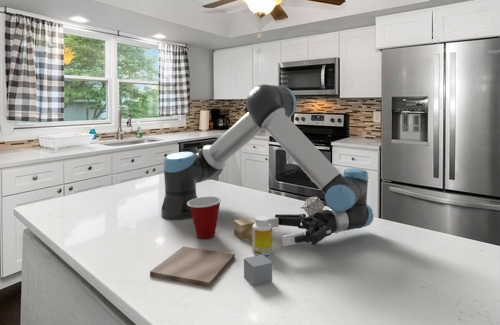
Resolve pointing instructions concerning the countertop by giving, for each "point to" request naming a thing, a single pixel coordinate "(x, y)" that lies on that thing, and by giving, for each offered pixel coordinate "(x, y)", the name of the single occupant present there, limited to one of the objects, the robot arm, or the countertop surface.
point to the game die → (313, 205)
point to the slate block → (257, 270)
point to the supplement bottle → (262, 236)
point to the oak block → (243, 228)
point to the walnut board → (193, 266)
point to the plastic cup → (205, 215)
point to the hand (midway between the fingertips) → (270, 232)
